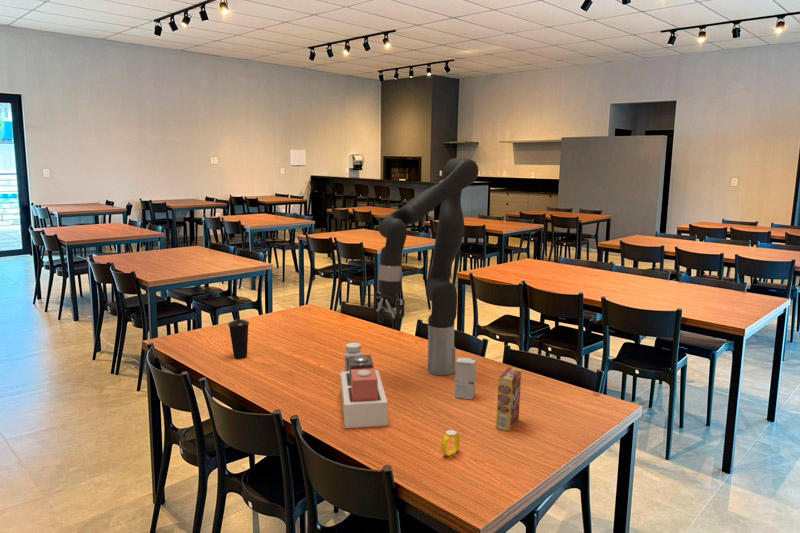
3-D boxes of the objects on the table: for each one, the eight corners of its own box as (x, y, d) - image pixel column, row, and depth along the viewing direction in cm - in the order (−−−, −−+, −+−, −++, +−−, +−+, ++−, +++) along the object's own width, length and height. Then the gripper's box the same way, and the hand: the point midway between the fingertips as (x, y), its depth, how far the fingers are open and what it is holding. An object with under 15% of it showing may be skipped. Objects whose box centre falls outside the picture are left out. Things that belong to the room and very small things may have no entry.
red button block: (374, 390, 170) (374, 366, 168) (377, 402, 161) (377, 377, 160) (351, 391, 169) (350, 367, 167) (353, 404, 160) (352, 378, 159)
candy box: (510, 432, 156) (512, 379, 153) (495, 428, 158) (497, 376, 155) (520, 419, 164) (521, 369, 161) (505, 416, 166) (507, 366, 163)
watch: (453, 449, 147) (454, 427, 147) (461, 452, 145) (463, 430, 145) (438, 455, 143) (439, 433, 142) (446, 459, 141) (448, 437, 140)
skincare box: (454, 397, 179) (454, 361, 177) (457, 392, 183) (457, 356, 181) (473, 400, 177) (474, 363, 175) (476, 394, 181) (476, 358, 179)
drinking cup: (225, 359, 215) (222, 308, 212) (238, 353, 222) (235, 303, 219) (242, 361, 213) (239, 310, 209) (254, 355, 220) (252, 305, 216)
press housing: (378, 390, 185) (377, 369, 184) (387, 425, 160) (387, 402, 159) (341, 392, 184) (340, 371, 182) (345, 428, 158) (344, 404, 157)
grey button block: (370, 375, 182) (370, 353, 180) (373, 386, 173) (373, 362, 171) (349, 376, 181) (348, 354, 179) (350, 387, 172) (350, 363, 170)
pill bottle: (366, 376, 197) (365, 345, 195) (350, 380, 194) (349, 348, 192) (357, 371, 202) (356, 341, 200) (342, 374, 199) (341, 344, 197)
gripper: (412, 281, 183) (409, 329, 186) (387, 274, 194) (384, 320, 197) (393, 282, 179) (390, 332, 181) (368, 275, 190) (366, 322, 192)
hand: (387, 326), depth 189 cm, fingers open, 8 cm apart
